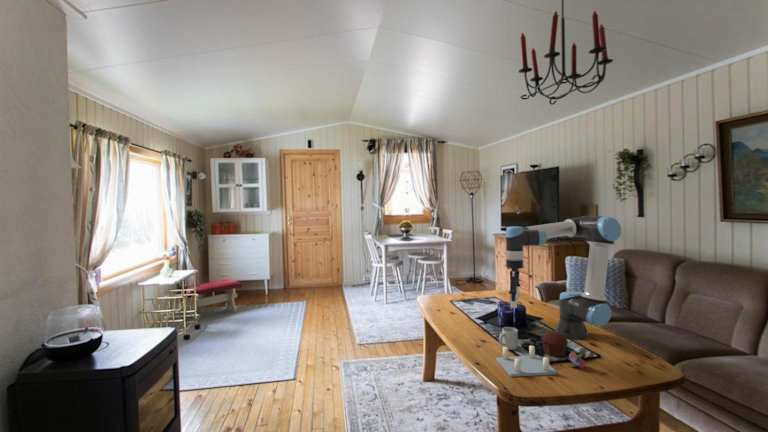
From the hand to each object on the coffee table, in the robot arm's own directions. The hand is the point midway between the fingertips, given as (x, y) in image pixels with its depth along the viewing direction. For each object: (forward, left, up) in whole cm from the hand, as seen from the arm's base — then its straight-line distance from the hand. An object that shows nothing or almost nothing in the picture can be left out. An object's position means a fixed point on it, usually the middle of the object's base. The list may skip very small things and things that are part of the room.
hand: (514, 303), depth 171 cm
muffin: (-18, +2, -24) cm, 31 cm away
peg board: (+2, +14, -24) cm, 28 cm away
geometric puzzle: (-20, +17, -24) cm, 36 cm away
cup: (+1, -7, -24) cm, 25 cm away
